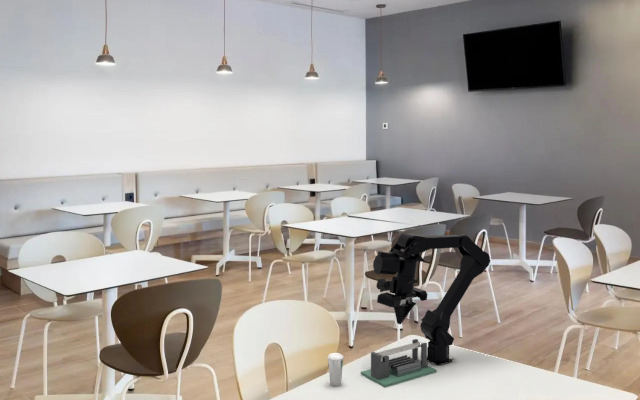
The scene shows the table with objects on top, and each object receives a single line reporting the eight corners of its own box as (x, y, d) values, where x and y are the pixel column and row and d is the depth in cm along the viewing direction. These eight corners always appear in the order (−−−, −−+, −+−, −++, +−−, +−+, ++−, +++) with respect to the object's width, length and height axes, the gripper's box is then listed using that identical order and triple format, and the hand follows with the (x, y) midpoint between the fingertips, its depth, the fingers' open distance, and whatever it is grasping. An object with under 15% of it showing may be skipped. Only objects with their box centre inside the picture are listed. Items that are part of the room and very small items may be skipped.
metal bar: (418, 347, 190) (418, 340, 190) (423, 350, 188) (423, 343, 188) (375, 359, 181) (375, 352, 181) (381, 362, 179) (381, 354, 179)
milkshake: (344, 388, 175) (344, 354, 174) (326, 386, 176) (326, 353, 175) (347, 381, 179) (347, 348, 178) (329, 380, 180) (329, 347, 179)
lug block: (381, 373, 183) (381, 349, 183) (388, 377, 180) (389, 353, 180) (370, 375, 181) (370, 352, 180) (378, 380, 178) (378, 356, 177)
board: (411, 360, 195) (411, 357, 195) (436, 372, 186) (436, 369, 186) (360, 374, 185) (360, 371, 184) (384, 387, 175) (384, 384, 175)
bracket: (416, 361, 192) (416, 338, 191) (428, 367, 188) (428, 343, 187) (410, 363, 191) (410, 340, 190) (422, 368, 186) (422, 344, 186)
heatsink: (405, 363, 191) (405, 354, 190) (421, 370, 185) (421, 361, 185) (382, 369, 186) (382, 360, 186) (397, 377, 180) (398, 368, 180)
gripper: (402, 265, 200) (396, 312, 202) (366, 270, 186) (359, 320, 188) (431, 274, 192) (424, 322, 194) (395, 280, 179) (389, 331, 181)
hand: (399, 323), depth 189 cm, fingers closed
